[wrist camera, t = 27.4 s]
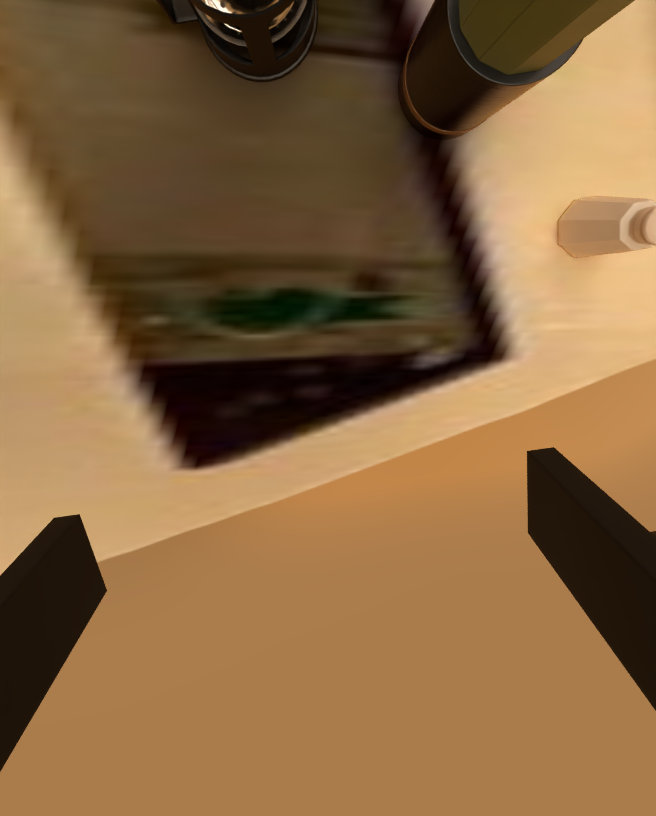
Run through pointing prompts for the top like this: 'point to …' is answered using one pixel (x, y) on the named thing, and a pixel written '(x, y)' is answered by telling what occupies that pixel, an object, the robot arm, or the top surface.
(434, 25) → the flask
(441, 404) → the top surface
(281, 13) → the french press
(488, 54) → the olive tea canister
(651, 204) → the salt shaker
